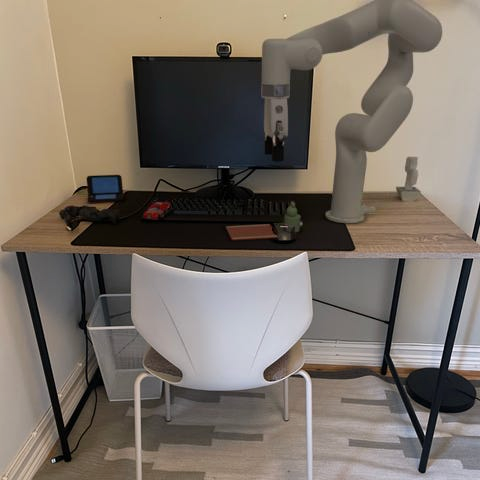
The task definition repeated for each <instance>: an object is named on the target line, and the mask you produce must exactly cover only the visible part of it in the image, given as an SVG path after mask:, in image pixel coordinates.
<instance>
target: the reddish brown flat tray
mask: <svg viewBox="0 0 480 480" xmlns="http://www.w3.org/2000/svg"><path fill="white" fill-rule="evenodd" d="M272 228H273V227H272V225H271V223H266V224H265V223H263V224H244V225H242V224H241V225H226V226H225V230H226V231H227V234H228V235H229V237H230V239H231V241H245V240H246V241H247V240H265V239H280V236H279V235H278V234H277V235H278V236H277V235H275V234H274V233H273V231H272Z"/></svg>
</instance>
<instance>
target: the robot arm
mask: <svg viewBox="0 0 480 480" xmlns="http://www.w3.org/2000/svg"><path fill="white" fill-rule="evenodd" d="M387 34H388V35H387ZM382 35H387V49H388V54H387V61H386V63H385V65H384V67H383V69H382V70H381V71H380V73H379V74H378V75H377V77H376V78H375V80H374V81H373V82H372V83H371V84H370V86H369V87H368V88H367V90H366V91H365V93H364V94H363V96H362V99H361V100H360V101H361V102H360V108H361V110H362V112H363V113H364V114H363V113H358V112H351V113H347V114H345V115H343V116H342V117H341V118H340V119H339V120H338V122H337V123H336V126H335V130H334V131H335V132H334V138H335V139H334V140H335V163H334V173H333V182H332V183H333V184H332V194H331V204H330V210H327V211H326V212H325V213H324V214H325V216H324V217H325V218H326V219H327V220H328V221H330V222H334V223H340V224H357V223H361V222H363V221H364V220H365V217H366V216H365V214H366V213H374V212H375V211H376V206H375V205H368V204H362V202H363V194H364V187H365V186H364V185H365V180H366V173H367V172H366V171H367V164H368V163H367V162H368V157H367V153H375V152H378V151H380V150H381V149H383V147H385V146H386V144H388V142H389V141H390V140H391V138H392V137H393V136H394V135H395V133H396V132H397V131H398V129H399V128H400V127H401V126H402V125H403V123H404V122H405V120H406V119H407V118H408V117H409V114H410V113H411V110H412V108H413V104H414V95H413V92H412V90H411V89H410V87H408V84H409V83H410V81H411V80H412V78H413V75H414V53H423V54H424V53H429V52H431V51H433V50H434V49H435V48H436V47H438V45H439V44H440V42H441V40H442V38H443V27H442V23H441V22H440V20H439V18H438V17H437V16H436V15H435V14H433V13H431V12H429V11H428V10H427V9H425V8H424V7H423V6H421V4H419V3H417V2H416V1H415V0H372V1H369V2H367V3H366V4H364V5H362V6H359V7H358V8H355V9H353V10H351V11H348V12H347V13H345V14H342V15H340V16H337V17H334V18H331V19H329V20H326V21H324V22H322V23H320V24H319V23H318V24H316V25H313V26H311V27H309V28H306V29H303V30H301V31H299V32H298V33H295V34H293V35H291V36H289V37H287V38H267V39H265V40H264V41H262V45H261V99H264V107H263V109H264V111H263V132H264V134H265V135H264V155H265V156H271V161H272V162H273V163H274V162H275V163H276V162H277V163H278V162H284V159H285V158H284V157H285V138H287V137H288V136H289V107H288V99H290V90H291V89H290V87H291V84H290V83H291V70H298V71H310V70H313V69H315V68H316V67H318V65H320V63H321V61H322V59H323V55H328V54H336V53H343V52H346V51H350V50H352V49H354V48H357V47H359V46H361V45H362V44H365V43H366V42H369V41H371V40H373V39H375V38H377V37H379V36H382Z"/></svg>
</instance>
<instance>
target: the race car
mask: <svg viewBox="0 0 480 480" xmlns="http://www.w3.org/2000/svg"><path fill="white" fill-rule="evenodd" d="M170 205H171V206H172V204H171V202H165V201H156V202H154V203H152V204H151V205H150V206H149V207H147V210H146V211H144V212H143V219H144V220H146V221H147V220H148V221H160V220H161V219H162V218H164V217H165V216H167V215H169V214H171V212H172V211H168V212H167V213H165V214H164V212H165V211H166V210H167V209H168V208H169V206H170ZM163 214H164V215H163Z"/></svg>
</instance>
